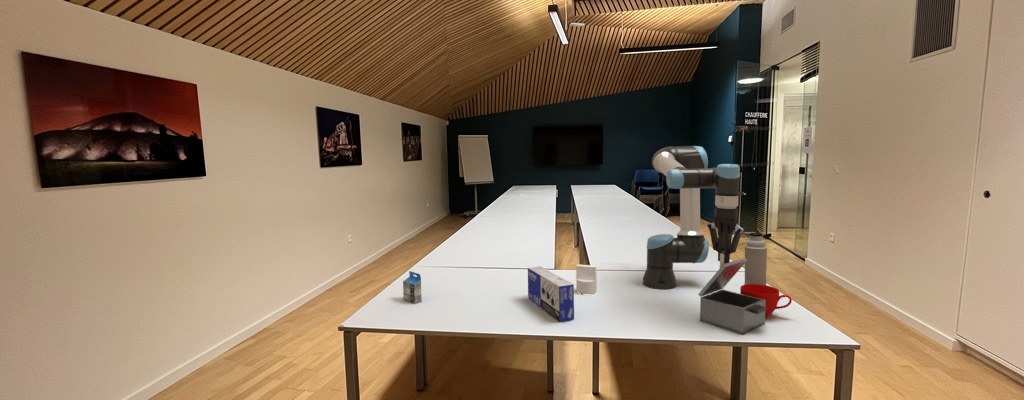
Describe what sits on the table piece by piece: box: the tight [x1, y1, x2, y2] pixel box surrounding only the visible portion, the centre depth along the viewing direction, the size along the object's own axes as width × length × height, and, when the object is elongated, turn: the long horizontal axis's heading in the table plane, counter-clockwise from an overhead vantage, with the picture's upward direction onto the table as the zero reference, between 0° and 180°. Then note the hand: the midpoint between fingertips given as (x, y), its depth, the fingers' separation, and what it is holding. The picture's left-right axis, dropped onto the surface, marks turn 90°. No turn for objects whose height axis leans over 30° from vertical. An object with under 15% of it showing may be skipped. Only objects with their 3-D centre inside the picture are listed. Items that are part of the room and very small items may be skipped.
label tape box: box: [402, 270, 423, 304], centre depth 194 cm, size 9×4×12 cm, turn 47°
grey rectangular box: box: [699, 288, 766, 335], centre depth 161 cm, size 18×15×9 cm
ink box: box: [527, 265, 575, 323], centre depth 181 cm, size 30×7×14 cm, turn 21°
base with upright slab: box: [575, 263, 598, 295], centre depth 201 cm, size 9×9×12 cm
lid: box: [697, 257, 747, 298], centre depth 165 cm, size 16×15×2 cm
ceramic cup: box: [739, 283, 793, 318], centre depth 169 cm, size 13×17×10 cm
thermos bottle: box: [744, 232, 768, 285], centre depth 186 cm, size 8×8×28 cm
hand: (723, 270), depth 164 cm, fingers closed
